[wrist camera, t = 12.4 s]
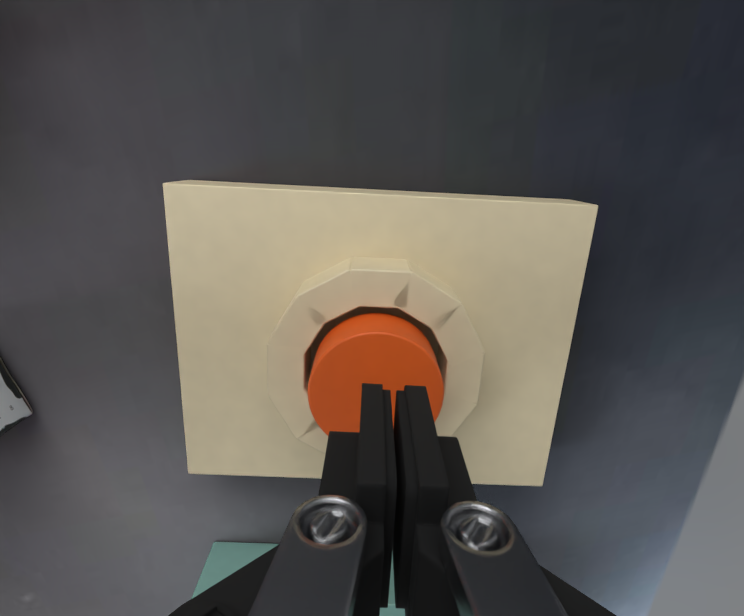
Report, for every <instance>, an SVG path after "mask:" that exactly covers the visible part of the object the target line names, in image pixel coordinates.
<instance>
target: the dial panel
mask: <svg viewBox="0 0 744 616" xmlns="http://www.w3.org/2000/svg"><path fill="white" fill-rule="evenodd" d="M277 545H279V544H270V543H238V542H214V543H213V546H212V548H211V551H210V553H209V556H208V558H207V561H206V563H205V566H204V568H203V571H202V573H201V576H200V578H199V581H198V583H197V586H196V588H195V591H194V593H193V596H192V598H194V597H196V596H197V595H199V594H200V593H202V592H204V591H205V590H207V589H208V588H210V587H212V586H213V585H215V584H216V583H218V582H220V581H221V580H223V579H224V578H226V577H228V576H229V575H231V574H232V573H234V572H236V571H237V570H239V569H240V568H242V567H244V566H245V565H247V564H248V563H250V562H252V561H253V560H255V559H256V558H258V557H260V556H261V555H263V554H264V553H266V552H268V551H269V550H271V549H272V548H274V547H276V546H277ZM192 598H191V599H192ZM379 616H405V609H400V608H396V607H395V591H394V571H393V550H392V561H391V573H390V586H389V598H388V608H380V615H379Z"/></svg>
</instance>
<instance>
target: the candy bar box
mask: <svg viewBox="0 0 744 616" xmlns="http://www.w3.org/2000/svg"><path fill="white" fill-rule="evenodd" d="M32 414H33V412H32V408H31V407H30V405H29V403H28V401H27V400H26V398H25V396H24V395H23V393H22V392H21V390H20V388H19V387H18V385H17V384H16V382H15V381H14V380H13V378H12V376H11V375H10V373H9V372H8V370H7V368H6V367H5V365H4V363H3V361H2V359H1V357H0V436H2V435H3V434H4V433H5V432H7V431H8V430H10V429H11V428H12V427H14V426H15V425H16V424H18V423H19V422H21V421H22V420H23V419H25V418H27V417H28V416H30V415H32Z"/></svg>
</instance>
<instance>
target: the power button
mask: <svg viewBox="0 0 744 616" xmlns="http://www.w3.org/2000/svg"><path fill="white" fill-rule="evenodd" d="M362 383H370V384H382V385H383V390H390V391H391V405H392V419H393V428H394V415H395V401H396V391H397V390H403V391H404V386H405V385H412V386H426V389H427V393H428V397H429V402H430V406H431V410H432V415H433V419H434V423H435V421H436V419H437V417H438V415H439V414H440V411H441V408H442V405H443V399H444V384H443V379H442V375H441V372H440V369H439V366H438V363H437V360H436V357H435V354H434V351H433V349H432V347H431V344H430V343H429V341H428V339H427V338H426V337H425V335H424V334H423V333H422V332H421V331H420V330H419V329H418V328H417V327H416V326H414V325H413V324H411V323H410V322H408V321H406V320H404V319H403V318H400V317H397V316H394V315H390V314H385V313H366V314H360V315H357V316H353V317H351V318H348V319H346V320H344V321H343V322H341V323H339V324H338V325H336V326H335V327H334V328H332V329H331V330H330V331H329V332H328V333H327V335H326V336H325V337H324V339H323V340H322V342H321V343H320V345H319V347H318V350H317V352H316V355H315V359H314V363H313V366H312V370H311V374H310V378H309V382H308V402H309V407H310V410H311V413H312V415H313V417H314V419H315V421H316V423H317V424H318V425H319V427H320V428H321V429H322V431H323V432H324V433H325V434H326V435H327V436H329V432H330V431H340V432H359V431H360V413H361V394H362Z"/></svg>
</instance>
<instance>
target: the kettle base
mask: <svg viewBox="0 0 744 616" xmlns="http://www.w3.org/2000/svg"><path fill="white" fill-rule="evenodd" d="M163 191H164V203H165V214H166V225H167V237H168V248H169V259H170V271H171V282H172V293H173V305H174V316H175V327H176V339H177V350H178V361H179V373H180V384H181V395H182V407H183V418H184V429H185V440H186V452H187V463H188V473H189V474H209V475H238V476H266V477H294V478H322V472H323V466H324V460H325V454H326V448H327V442H328V436H327V435H326V434H325V433H324V432H323V431H322V429H321V428H320V427H319V425H318V424H317V423H316V421H315V419H314V417H313V415H312V413H311V410H310V407H309V402H308V382H309V378H310V374H311V370H312V366H313V363H314V359H315V355H316V352H317V350H318V347H319V345H320V343H321V342H322V340H323V339H324V337H325V336H326V335H327V333H328V332H329V331H330V330H331V329H332V328H334V327H335V326H336V325H338V324H339V323H341V322H343V321H344V320H346V319H348V318H351V317H353V316H357V315H360V314H366V313H385V314H390V315H394V316H397V317H400V318H403V319H404V320H406V321H408V322H410V323H411V324H413V325H414V326H416V327H417V328H418V329H419V330H420V331H421V332H422V333H423V334H424V335H425V337H426V338H427V339H428V341H429V343H430V344H431V347H432V349H433V351H434V354H435V357H436V360H437V363H438V366H439V369H440V372H441V375H442V379H443V384H444V399H443V405H442V408H441V411H440V414H439V415H438V417H437V419H436V421H435V427H436V432H437V436H448V437H457V439H458V441H459V444H460V447H461V451H462V454H463V457H464V460H465V464H466V467H467V470H468V473H469V477H470V480H471V483H472V484H492V485H520V486H542V485H543V480H544V475H545V470H546V465H547V460H548V455H549V450H550V445H551V440H552V435H553V430H554V425H555V420H556V415H557V410H558V405H559V400H560V395H561V390H562V385H563V380H564V375H565V370H566V365H567V360H568V356H569V351H570V346H571V341H572V336H573V331H574V326H575V321H576V316H577V311H578V306H579V301H580V296H581V291H582V286H583V281H584V276H585V271H586V266H587V261H588V256H589V251H590V246H591V241H592V236H593V231H594V226H595V221H596V216H597V211H598V205H594V204H589V203H585V202H580V201H575V200H570V199H551V198H531V197H512V196H492V195H473V194H453V193H434V192H415V191H395V190H376V189H356V188H337V187H317V186H298V185H279V184H259V183H240V182H220V181H201V180H184V181H176V182H168V183H163Z"/></svg>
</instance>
